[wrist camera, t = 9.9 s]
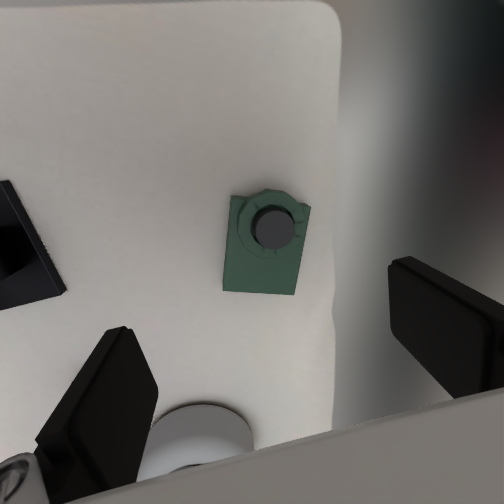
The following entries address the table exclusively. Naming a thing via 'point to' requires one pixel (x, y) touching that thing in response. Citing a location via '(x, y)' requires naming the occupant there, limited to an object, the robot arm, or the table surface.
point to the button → (273, 228)
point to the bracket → (23, 256)
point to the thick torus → (193, 440)
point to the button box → (256, 255)
